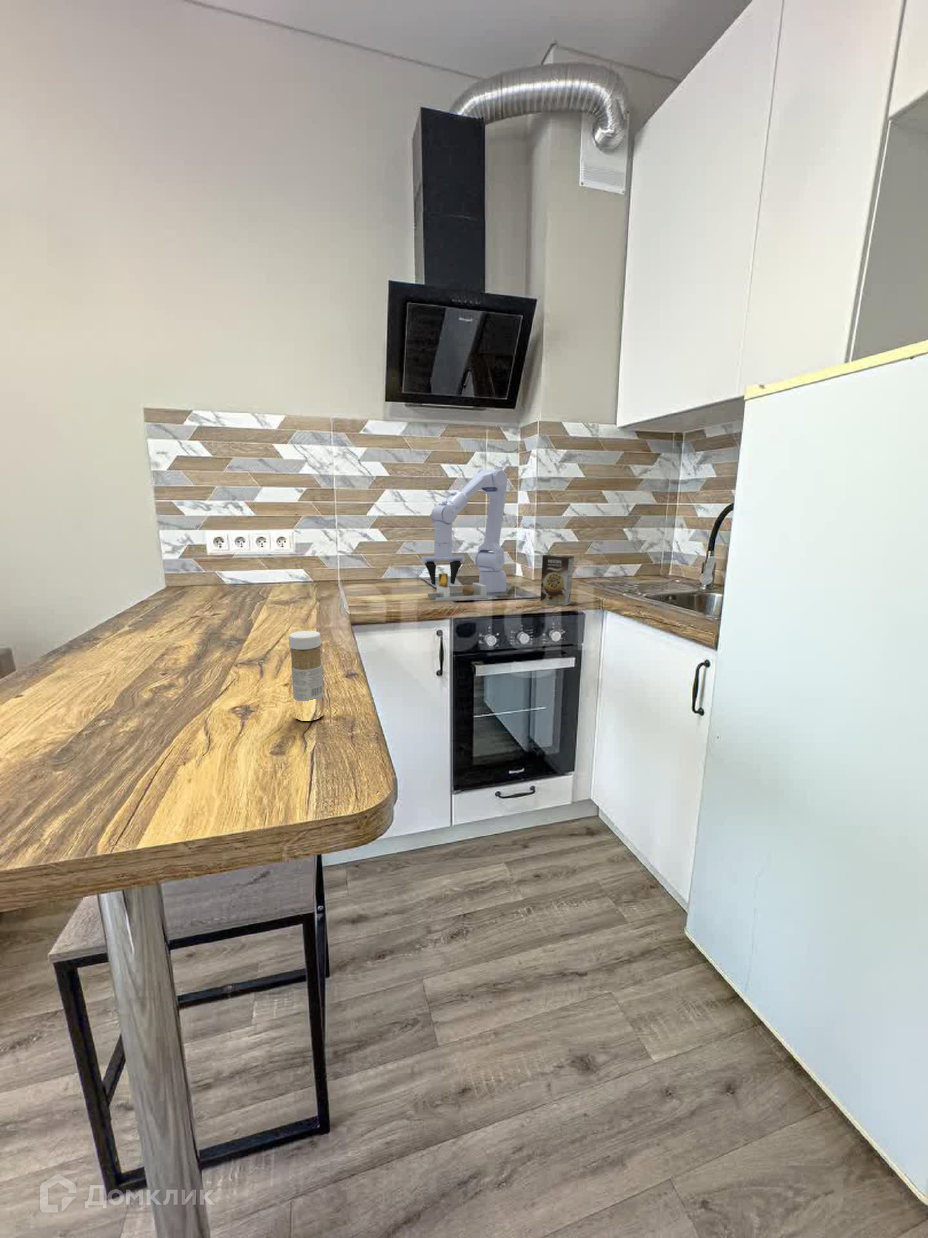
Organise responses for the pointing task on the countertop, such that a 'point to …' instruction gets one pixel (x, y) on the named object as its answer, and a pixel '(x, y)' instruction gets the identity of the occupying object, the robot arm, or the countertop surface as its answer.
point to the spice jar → (306, 665)
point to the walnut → (468, 590)
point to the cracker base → (478, 594)
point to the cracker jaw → (443, 586)
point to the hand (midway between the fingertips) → (443, 583)
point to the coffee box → (556, 579)
